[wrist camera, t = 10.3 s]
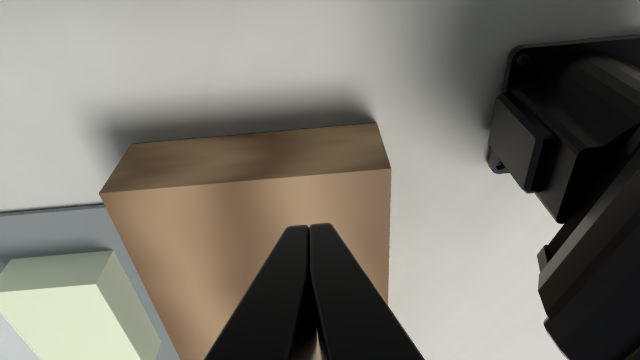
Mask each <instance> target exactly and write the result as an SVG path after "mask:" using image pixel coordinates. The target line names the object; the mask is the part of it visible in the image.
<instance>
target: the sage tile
mask: <svg viewBox="0 0 640 360" xmlns="http://www.w3.org/2000/svg"><path fill="white" fill-rule="evenodd" d="M0 313H1V314H2V315H3V316H4V317H5V319H6V320H7V321H8V322H9V323H10V324H11V326H12V327H13V328H14V329H15V330H16V332H17V333H18V334H19V335H20V336H21V337H22V339H23V340H24V341H25V342H26V343H27V344H28V346H29V347H30V348H31V349H32V350H33V351H34V353H35V354H36V355H37V356H38V357H39V359H40V360H156V357H157V354H158V350H159V347H160V344H161V340H160V338H159V336H158V334H157V332H156V330H155V329H154V327H153V325H152V323H151V321H150V319H149V317H148V315H147V313H146V311H145V309H144V308H143V306H142V304H141V302H140V300H139V298H138V296H137V294H136V292H135V290H134V289H133V287H132V285H131V283H130V281H129V279H128V277H127V275H126V273H125V271H124V269H123V268H122V266H121V264H120V262H119V260H118V258H117V256H116V254H115V252H114V250H110V251H98V252H87V253H75V254H64V255H53V256H41V257H30V258H18V259H11V260H10V262H9V263H8V264H7V265H6V267H5V268H4V269H3V270H2V272H1V273H0Z"/></svg>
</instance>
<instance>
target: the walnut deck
mask: <svg viewBox="0 0 640 360" xmlns="http://www.w3.org/2000/svg"><path fill="white" fill-rule="evenodd" d="M99 195H100V197H101V199H102V201H103V203H104V205H105V207H106V209H107V211H108V213H109V215H110V217H111V219H112V221H113V224H114V226H115V228H116V230H117V232H118V234H119V236H120V238H121V240H122V242H123V244H124V246H125V248H126V250H127V252H128V254H129V256H130V258H131V260H132V262H133V264H134V266H135V268H136V270H137V272H138V274H139V277H140V279H141V281H142V283H143V285H144V287H145V289H146V291H147V293H148V295H149V297H150V299H151V301H152V303H153V305H154V307H155V309H156V311H157V313H158V315H159V317H160V319H161V321H162V323H163V325H164V327H165V330H166V332H167V334H168V336H169V338H170V340H171V342H172V344H173V346H174V348H175V350H176V352H177V354H178V356H179V358H180V360H204V358H205V356H206V355H207V353H208V352H209V350H210V348H211V347H212V345H213V344H214V342H215V341H216V339H217V337H218V336H219V334H220V333H221V331H222V329H223V328H224V326H225V325H226V323H227V321H228V320H229V318H230V317H231V315H232V313H233V312H234V310H235V309H236V307H237V305H238V304H239V302H240V301H241V299H242V297H243V296H244V294H245V293H246V291H247V289H248V288H249V286H250V285H251V283H252V281H253V280H254V278H255V277H256V275H257V273H258V272H259V270H260V269H261V267H262V265H263V264H264V262H265V261H266V259H267V257H268V256H269V254H270V253H271V251H272V249H273V248H274V246H275V245H276V243H277V241H278V240H279V238H280V237H281V235H282V233H283V232H284V230H285V229H286V228H287V227H288V226H294V225H308V227H310V225H311V224H318V223H331V224H332V225H333V226H334V228H335V229H336V231H337V232H338V234H339V235H340V237H341V238H342V240H343V241H344V242H345V244H346V245H347V247H348V248H349V250H350V251H351V253H352V254H353V256H354V257H355V258H356V260H357V261H358V263H359V264H360V266H361V267H362V269H363V270H364V272H365V273H366V275H367V276H368V277H369V279H370V280H371V282H372V283H373V285H374V286H375V288H376V289H377V291H378V292H379V293H380V295H381V296H382V298H383V299H384V301H385V302H386V304H387V305H388V276H389V236H390V197H391V166H390V163H389V160H388V157H387V154H386V151H385V147H384V144H383V141H382V138H381V135H380V132H379V129H378V125H377V123H368V124H356V125H345V126H333V127H322V128H310V129H299V130H287V131H276V132H265V133H253V134H242V135H230V136H219V137H207V138H196V139H184V140H173V141H161V142H150V143H139V144H131V146H130V147H129V149H128V150H127V152H126V153H125V155H124V156H123V158H122V159H121V161H120V162H119V164H118V165H117V167H116V168H115V170H114V171H113V173H112V174H111V176H110V177H109V179H108V180H107V182H106V183H105V185H104V186H103V188H102V189H101V191H100V192H99ZM316 360H322V359H321V354H320V347H319V340H318V333H317V359H316Z"/></svg>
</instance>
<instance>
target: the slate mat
mask: <svg viewBox="0 0 640 360" xmlns="http://www.w3.org/2000/svg"><path fill="white" fill-rule="evenodd" d="M110 250H114V252H115V254H116V256H117V258H118V260H119V262H120V264H121V266H122V268H123V269H124V271H125V273H126V275H127V277H128V279H129V281H130V283H131V285H132V287H133V289H134V290H135V292H136V294H137V296H138V298H139V300H140V302H141V304H142V306H143V308H144V309H145V311H146V313H147V315H148V317H149V319H150V321H151V323H152V325H153V327H154V329H155V330H156V332H157V334H158V336H159V338H160V340H161V344H160V347H159V350H158V354H157V357H156V360H180V358H179V356H178V354H177V352H176V350H175V348H174V346H173V344H172V342H171V340H170V338H169V336H168V334H167V332H166V330H165V327H164V325H163V323H162V321H161V319H160V317H159V315H158V313H157V311H156V309H155V307H154V305H153V303H152V301H151V299H150V297H149V295H148V293H147V291H146V289H145V287H144V285H143V283H142V281H141V279H140V277H139V274H138V272H137V270H136V268H135V266H134V264H133V262H132V260H131V258H130V256H129V254H128V252H127V250H126V248H125V246H124V244H123V242H122V240H121V238H120V236H119V234H118V232H117V230H116V228H115V226H114V224H113V221H112V219H111V217H110V215H109V213H108V211H107V209H106V207H105V205H104V204H103V205H91V206H80V207H68V208H56V209H44V210H33V211H21V212H9V213H0V273H1V272H2V270H3V269H4V268H5V267H6V265H7V264H8V263H9V262H10V260H11V259H18V258H30V257H41V256H53V255H64V254H75V253H87V252H98V251H110Z"/></svg>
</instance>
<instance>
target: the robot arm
mask: <svg viewBox="0 0 640 360" xmlns="http://www.w3.org/2000/svg"><path fill="white" fill-rule="evenodd" d="M522 54H525V58H524V59H523V60H522V61H521V62H517V60H518V58H519V57H520V56H521V55H522ZM488 143H489V145H490V146H491V151H490V156H489V162H488V165H489V167H490V168H491V170H492V171H493V172H494V173H496V174H503V173H510V174H511V175H512V176H513V178H514V179H515V180H516V182H517V183H518V185H519V186H520V187H521V189H522V190H524V191H525V192H526V193H527V194H529V193H535V194H536V196H537V197H538V198H539V200H540V201H541V202H542V204H543V205H544V206H545V208H546V209H547V210H548V211H549V213H550V214H551V215H552V217H553V218H554V219H555V221H556V222H557V223H559V224H564V225H563V226H562V228H561V229H560V230H559V232H558V233H557V234H556V235H555V237H554V238H553V239H552V241H551V242H550V243H549V245H545V246H544V247H543V248H542V249H541V250H540V252H539V253H538V254H537V258H538V263H539V268H540V274H539V286H538V292H539V295H540V298H541V300H542V303H543V306H544V309H545V312H546V314H547V316H548V317H547V318H546V319H545V321H544V326H545V329H546V331H547V333H548V334H549V336H550V337H551V339H552V340H553V341H554V343H555V344H556V346H557V347H558V349H559V350H560V351H561V353H562V354H563V355H564V356H565V357H566V358H567V359H568V360H640V35H629V36H618V37H607V38H596V39H584V40H573V41H562V42H551V43H540V44H529V45H520V46H517V47H516V48H514V49H513V50H512V51H511V52H510V54H509V56H508V60H507V66H506V71H505V76H504V82H503V87H502V92H501V93H500V94H499V96H498V97H497V98H496V103H495V108H494V114H493V119H492V125H491V130H490V136H489V142H488ZM499 162H502V164H500V165H498V166H496V165H497V164H498V163H499ZM317 333H318V340H319V347H320V354H321V359H322V360H425V359H424V358H423V356H422V355H421V353H420V352H419V350H418V349H417V347H416V346H415V345H414V343H413V342H412V340H411V339H410V337H409V336H408V334H407V333H406V331H405V330H404V328H403V327H402V326H401V324H400V323H399V321H398V320H397V318H396V317H395V315H394V314H393V312H392V311H391V310H390V308H389V307H388V305H387V304H386V302H385V301H384V299H383V298H382V296H381V295H380V293H379V292H378V291H377V289H376V288H375V286H374V285H373V283H372V282H371V280H370V279H369V277H368V276H367V275H366V273H365V272H364V270H363V269H362V267H361V266H360V264H359V263H358V261H357V260H356V258H355V257H354V256H353V254H352V253H351V251H350V250H349V248H348V247H347V245H346V244H345V242H344V241H343V240H342V238H341V237H340V235H339V234H338V232H337V231H336V229H335V228H334V226H333V225H332V224H331V223H318V224H311V225H310V227H308V225H294V226H288V227H287V228H286V229H285V230H284V232H283V233H282V235H281V237H280V238H279V240H278V241H277V243H276V245H275V246H274V248H273V249H272V251H271V253H270V254H269V256H268V257H267V259H266V261H265V262H264V264H263V265H262V267H261V269H260V270H259V272H258V273H257V275H256V277H255V278H254V280H253V281H252V283H251V285H250V286H249V288H248V289H247V291H246V293H245V294H244V296H243V297H242V299H241V301H240V302H239V304H238V305H237V307H236V309H235V310H234V312H233V313H232V315H231V317H230V318H229V320H228V321H227V323H226V325H225V326H224V328H223V329H222V331H221V333H220V334H219V336H218V337H217V339H216V341H215V342H214V344H213V345H212V347H211V348H210V350H209V352H208V353H207V355H206V356H205V358H204V360H316V359H317Z"/></svg>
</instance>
